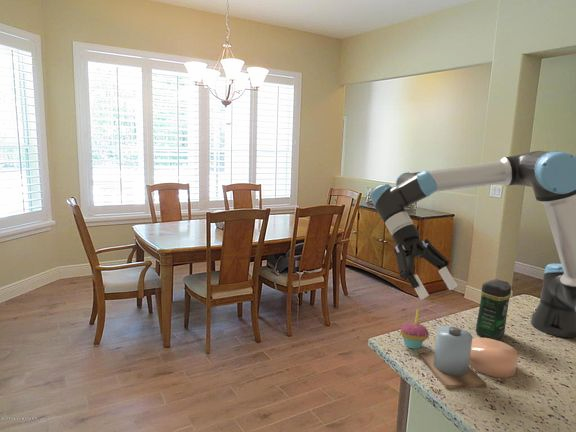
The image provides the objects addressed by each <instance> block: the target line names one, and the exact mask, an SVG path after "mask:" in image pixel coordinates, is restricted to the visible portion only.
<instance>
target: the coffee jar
mask: <svg viewBox="0 0 576 432" xmlns="http://www.w3.org/2000/svg"><path fill="white" fill-rule="evenodd" d="M480 291H481V292H480V302H479V308H478V315H477V320H476V323H475V332H476V334H478V335H480V336H481V337H482V338H489V339H494V340H498V339H500V338H502V337H503V336H504V335H505V333H506V331H505V330H506V324H507V317H508V308H509V303H510V297H511V294H512V286H511V284H510V283H509V282H508V281H504V280H501V279H499V278H495V279H491V280H490V279H489V281H486V282H484V283H483V284H482V286H481V290H480Z"/></svg>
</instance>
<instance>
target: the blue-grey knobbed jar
mask: <svg viewBox="0 0 576 432" xmlns="http://www.w3.org/2000/svg"><path fill="white" fill-rule="evenodd" d="M472 339H473V335H472V334H471V333H470V332H469V331H467V330H465V329H463V328H461V327H456V326H452V325H444V326H443V325H442V326H439V327H438V328H437V330H436V339H435V347H434V351H433V352H434V361H433V364H434V366H435V368H437V369H438V370H439V371H441V372H443V373H445V374H448V375H453V376H463V375H465V374H467V372H468V366H469V359H470V352H471V345H472ZM469 367H470V366H469Z"/></svg>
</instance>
